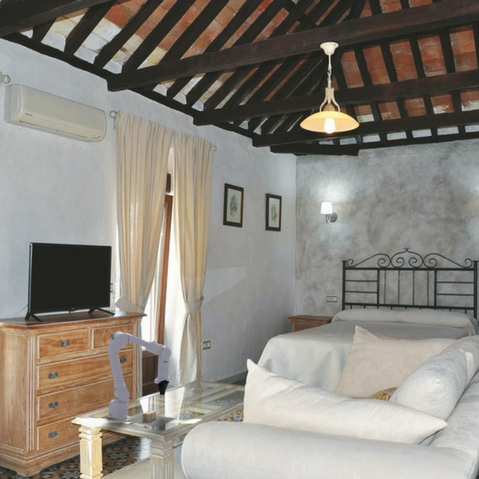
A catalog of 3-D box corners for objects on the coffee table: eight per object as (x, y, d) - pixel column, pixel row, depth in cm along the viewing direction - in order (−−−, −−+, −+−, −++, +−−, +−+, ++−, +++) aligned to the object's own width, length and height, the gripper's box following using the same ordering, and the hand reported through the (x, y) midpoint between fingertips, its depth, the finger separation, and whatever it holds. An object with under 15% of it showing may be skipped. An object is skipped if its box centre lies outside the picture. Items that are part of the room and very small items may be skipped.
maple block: (149, 417, 295) (142, 420, 288) (149, 410, 295) (142, 413, 288) (155, 418, 293) (148, 421, 287) (155, 411, 294) (148, 414, 287)
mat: (124, 422, 285) (124, 421, 285) (142, 413, 302) (142, 413, 302) (159, 427, 278) (159, 426, 278) (176, 419, 295) (176, 418, 295)
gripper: (163, 371, 296) (162, 398, 295) (176, 367, 309) (175, 393, 308) (151, 370, 298) (150, 396, 297) (164, 366, 312) (163, 391, 311)
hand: (162, 394), depth 303 cm, fingers closed
